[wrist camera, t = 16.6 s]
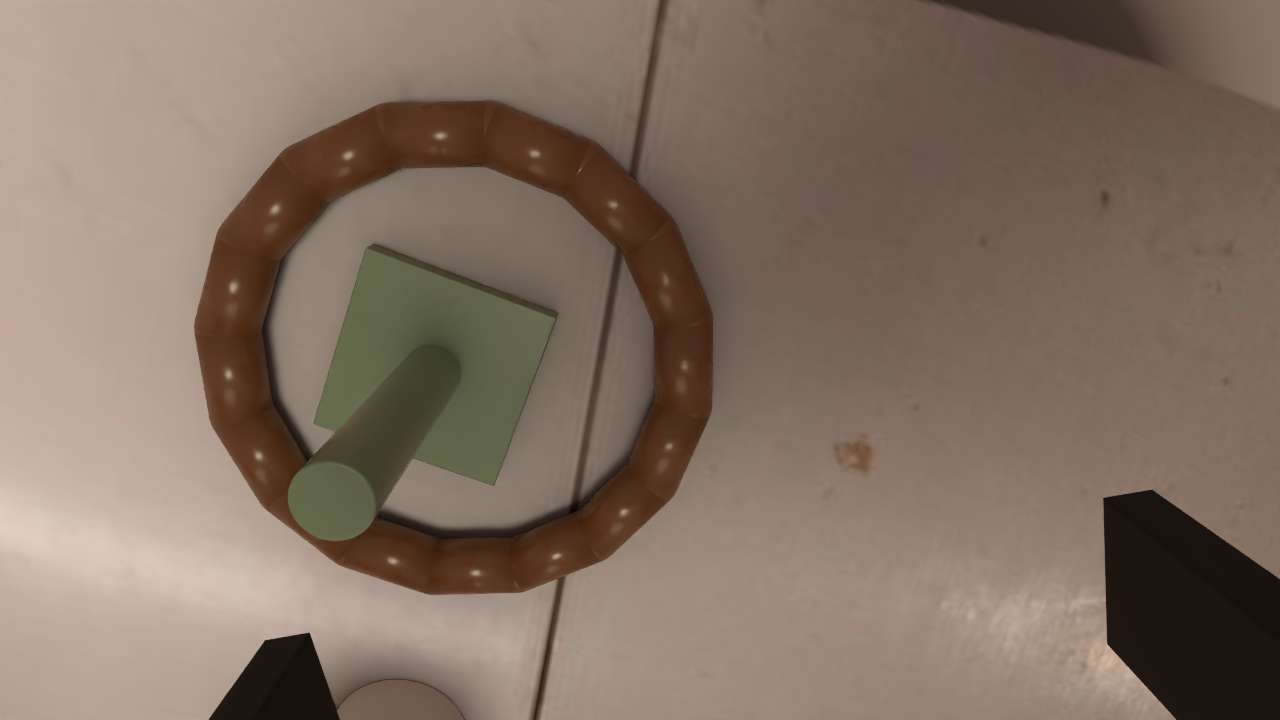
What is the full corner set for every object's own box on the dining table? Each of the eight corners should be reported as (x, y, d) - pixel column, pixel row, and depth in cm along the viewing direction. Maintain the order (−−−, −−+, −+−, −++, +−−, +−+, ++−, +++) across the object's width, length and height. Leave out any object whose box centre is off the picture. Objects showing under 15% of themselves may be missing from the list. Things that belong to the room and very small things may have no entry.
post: (373, 243, 33) (219, 316, 20) (558, 313, 34) (519, 422, 21) (321, 416, 35) (152, 578, 22) (497, 476, 36) (429, 664, 23)
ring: (289, 16, 30) (261, 7, 28) (788, 220, 33) (801, 227, 30) (167, 486, 36) (136, 512, 33) (606, 631, 38) (605, 664, 36)
